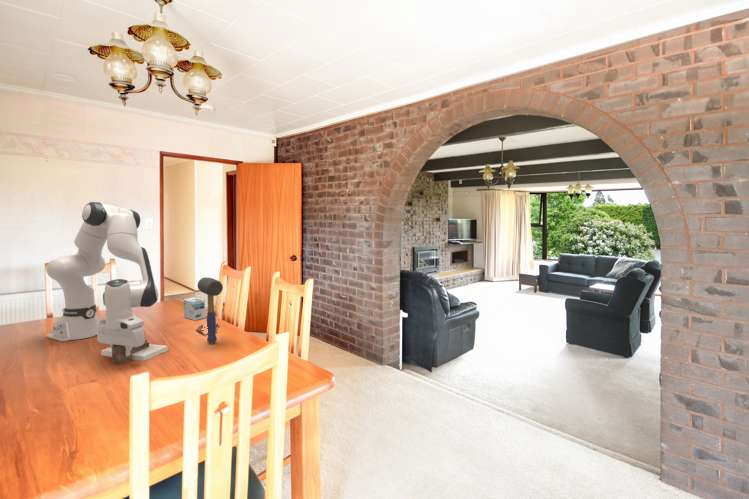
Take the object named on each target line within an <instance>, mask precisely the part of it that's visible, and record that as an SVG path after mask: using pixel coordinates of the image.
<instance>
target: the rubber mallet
mask: <svg viewBox="0 0 749 499" xmlns="http://www.w3.org/2000/svg"><path fill="white" fill-rule="evenodd" d="M223 288H224V287H223V283H222V282H221V281H220V280H217V279H215V278H213V277H206V276H205V277H202V278H200V279H199V281H198V283H197V289H198V290H199V291H200V292H201V293H202V294H205V295H206V296H207V313H206V322H207V327H208V336H207V339H206V340H207V343H208V344H211V345H212V344H215V343H216V342H217V340H218V339H217V333H216V331H215V326H216V324H217V318H216V313H215V302H214V300H215V299H214V297H215V296H218V295H220V294H221V293H222V292H223Z"/></svg>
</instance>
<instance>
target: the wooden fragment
mask: <svg viewBox="0 0 749 499" xmlns="http://www.w3.org/2000/svg"><path fill="white" fill-rule="evenodd" d="M217 327H218V328H220V325H219V323H216V326H215V331H216V330H217V331H218V332H219V330H218V328H217ZM202 328H203V324H201V325H199V326H198V327H197V328H196V329H195V331H196V330H197V331H196V332H198V333H200V334H202V333H203V332H202V331H204V330H201V329H202ZM204 328H205V327H204ZM216 328H217V329H216ZM207 329H208V328H207ZM217 331H216V334H218V333H217ZM203 335H204V337H207V336H206V335H208V333H207V334H204V333H203V334H202V336H203Z"/></svg>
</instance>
